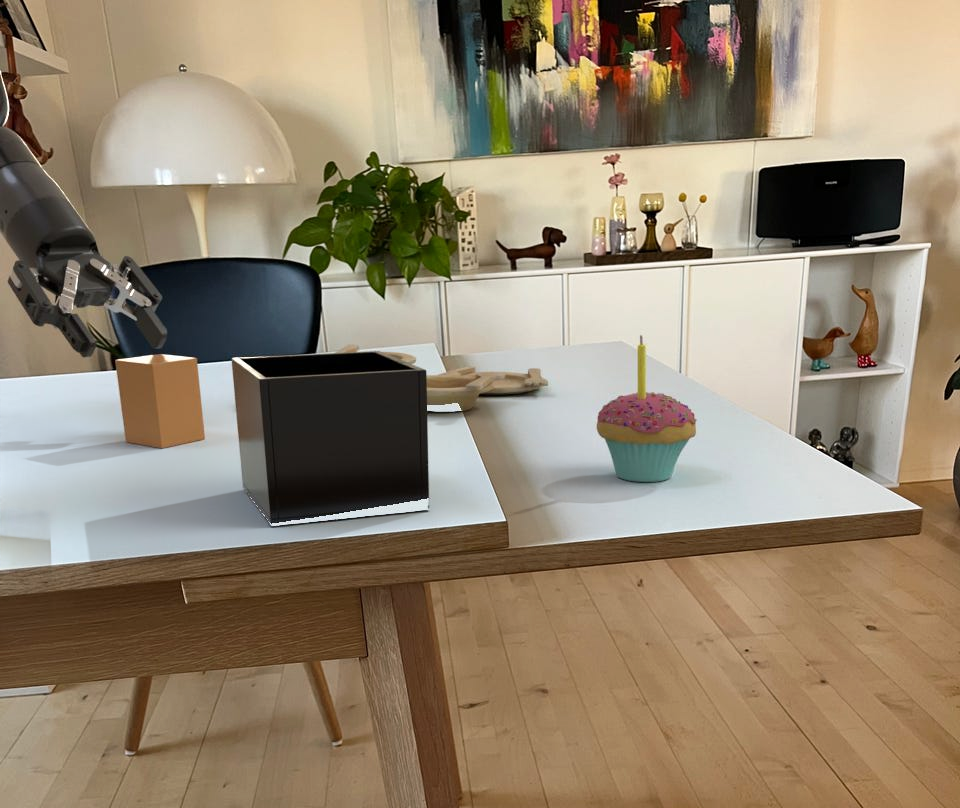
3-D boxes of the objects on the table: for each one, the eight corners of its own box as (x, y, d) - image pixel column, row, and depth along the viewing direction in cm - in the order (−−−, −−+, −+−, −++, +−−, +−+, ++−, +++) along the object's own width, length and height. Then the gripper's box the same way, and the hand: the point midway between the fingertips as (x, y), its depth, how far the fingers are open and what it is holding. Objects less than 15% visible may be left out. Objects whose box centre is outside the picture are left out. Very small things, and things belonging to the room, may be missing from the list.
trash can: (271, 527, 76) (259, 379, 72) (242, 489, 87) (231, 358, 82) (429, 511, 80) (426, 369, 76) (384, 476, 91) (379, 350, 87)
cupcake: (672, 492, 85) (682, 340, 81) (577, 480, 89) (582, 334, 85) (704, 471, 92) (716, 330, 88) (615, 460, 96) (621, 325, 91)
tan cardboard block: (161, 448, 101) (151, 364, 98) (125, 442, 104) (114, 359, 101) (205, 439, 106) (197, 357, 103) (169, 433, 108) (160, 354, 105)
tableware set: (221, 407, 123) (218, 371, 121) (326, 372, 149) (325, 343, 147) (509, 423, 113) (509, 385, 112) (567, 383, 139) (568, 352, 138)
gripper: (-16, 193, 98) (79, 327, 96) (111, 194, 108) (198, 315, 107) (-38, 252, 102) (53, 381, 101) (86, 248, 113) (169, 364, 112)
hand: (127, 347), depth 104 cm, fingers open, 8 cm apart
